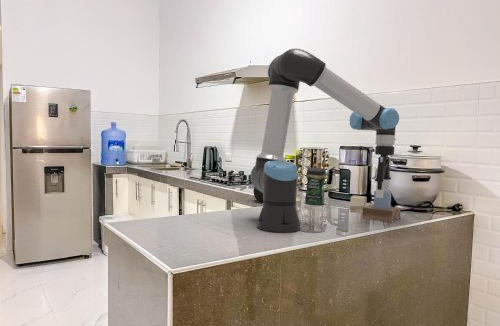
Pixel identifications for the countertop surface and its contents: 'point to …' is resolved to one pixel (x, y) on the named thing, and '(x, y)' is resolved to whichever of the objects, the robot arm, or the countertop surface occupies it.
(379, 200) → the slate block
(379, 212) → the walnut block
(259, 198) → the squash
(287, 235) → the countertop surface
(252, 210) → the countertop surface
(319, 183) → the coffee jar
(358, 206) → the birch block
